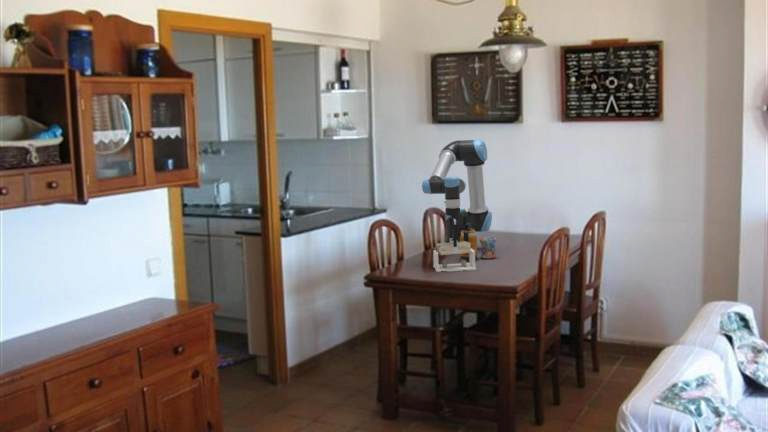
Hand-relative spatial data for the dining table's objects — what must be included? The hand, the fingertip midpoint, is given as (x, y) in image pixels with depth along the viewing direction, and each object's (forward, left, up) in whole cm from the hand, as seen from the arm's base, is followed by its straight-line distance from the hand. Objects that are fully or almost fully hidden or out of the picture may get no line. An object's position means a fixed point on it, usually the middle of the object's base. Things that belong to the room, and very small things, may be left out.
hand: (453, 251), depth 407 cm
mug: (-25, +23, -9) cm, 35 cm away
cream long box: (0, 0, -1) cm, 1 cm away
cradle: (0, 0, -9) cm, 9 cm away
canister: (-21, +11, -9) cm, 25 cm away
